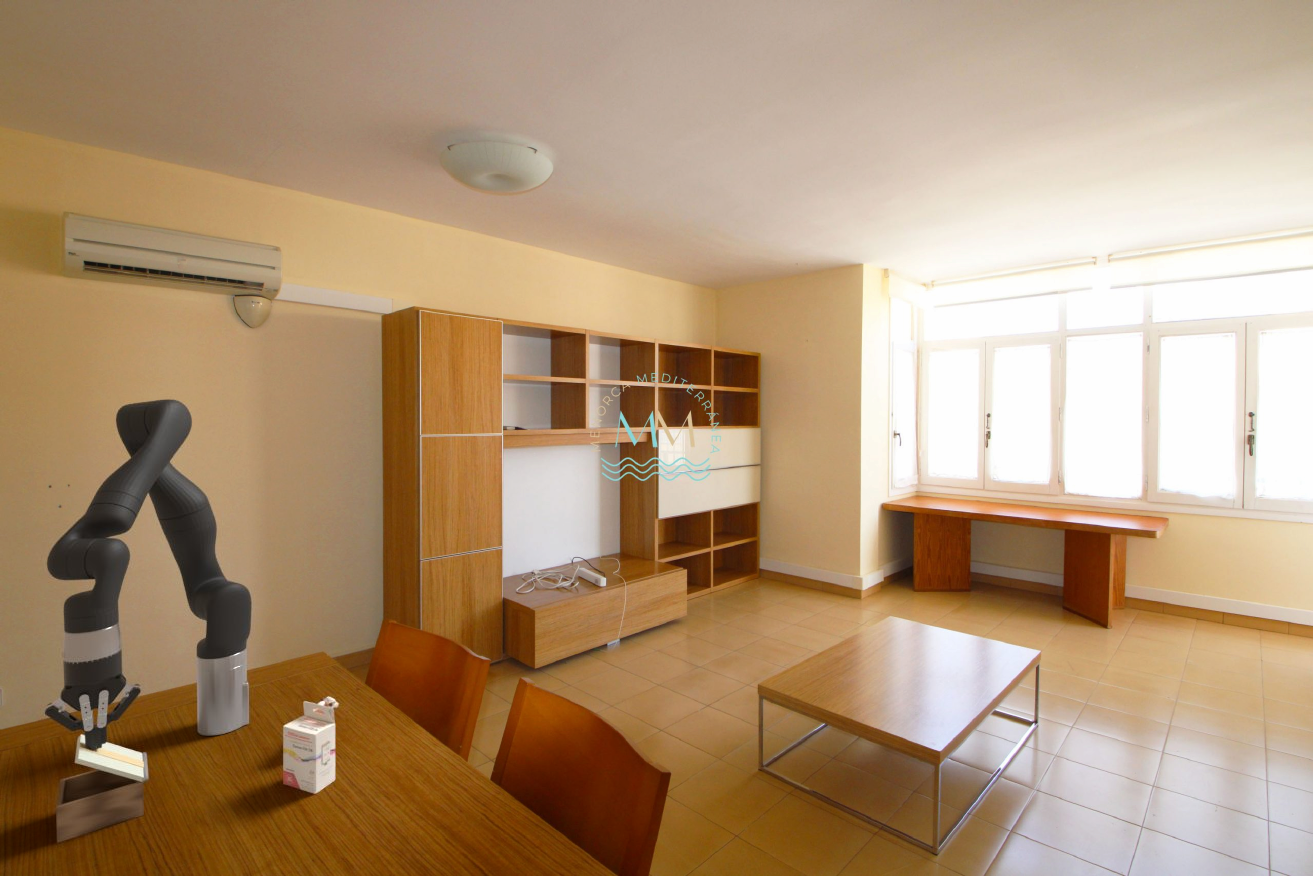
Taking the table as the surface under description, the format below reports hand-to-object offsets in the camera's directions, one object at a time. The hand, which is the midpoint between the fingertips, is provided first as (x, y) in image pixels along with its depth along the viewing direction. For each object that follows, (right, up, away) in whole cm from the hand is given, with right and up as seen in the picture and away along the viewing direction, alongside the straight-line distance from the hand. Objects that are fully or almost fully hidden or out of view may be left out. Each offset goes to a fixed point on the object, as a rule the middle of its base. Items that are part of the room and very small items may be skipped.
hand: (96, 747), depth 108 cm
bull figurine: (+25, -12, +25) cm, 37 cm away
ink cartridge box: (+32, -13, +11) cm, 36 cm away
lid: (+2, -3, +1) cm, 4 cm away
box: (0, -12, +1) cm, 12 cm away
